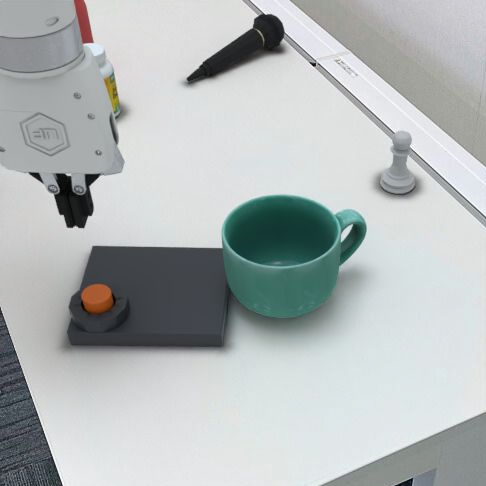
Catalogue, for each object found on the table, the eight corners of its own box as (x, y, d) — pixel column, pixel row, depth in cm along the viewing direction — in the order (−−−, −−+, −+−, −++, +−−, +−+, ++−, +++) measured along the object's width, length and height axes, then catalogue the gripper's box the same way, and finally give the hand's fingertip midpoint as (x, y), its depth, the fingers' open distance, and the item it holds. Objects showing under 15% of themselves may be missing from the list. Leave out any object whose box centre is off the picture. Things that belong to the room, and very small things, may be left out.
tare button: (81, 314, 80) (78, 303, 79) (87, 294, 82) (84, 283, 81) (110, 314, 80) (108, 303, 79) (115, 294, 82) (113, 284, 81)
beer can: (77, 85, 117) (59, 6, 108) (46, 72, 119) (25, -6, 110) (108, 68, 121) (93, -10, 112) (77, 56, 123) (60, -21, 114)
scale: (70, 344, 82) (63, 321, 79) (95, 257, 91) (89, 234, 88) (222, 346, 82) (220, 323, 80) (231, 260, 92) (230, 237, 89)
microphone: (199, 104, 121) (289, 48, 129) (200, 77, 116) (293, 20, 124) (175, 82, 122) (266, 28, 130) (175, 54, 116) (269, 0, 125)
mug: (246, 345, 83) (242, 280, 76) (213, 272, 90) (206, 206, 83) (386, 308, 88) (394, 243, 81) (343, 241, 95) (347, 177, 88)
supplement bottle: (81, 105, 113) (66, 42, 106) (118, 100, 115) (106, 38, 107) (85, 125, 110) (71, 61, 103) (124, 119, 111) (112, 56, 104)
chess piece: (420, 182, 104) (428, 130, 99) (403, 199, 102) (409, 146, 96) (391, 170, 106) (396, 118, 100) (373, 186, 103) (377, 133, 97)
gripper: (-79, 58, 59) (-10, 242, 73) (118, 66, 60) (150, 246, 74) (-48, 14, 64) (11, 194, 78) (134, 22, 65) (161, 198, 79)
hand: (78, 219), depth 76 cm, fingers closed
